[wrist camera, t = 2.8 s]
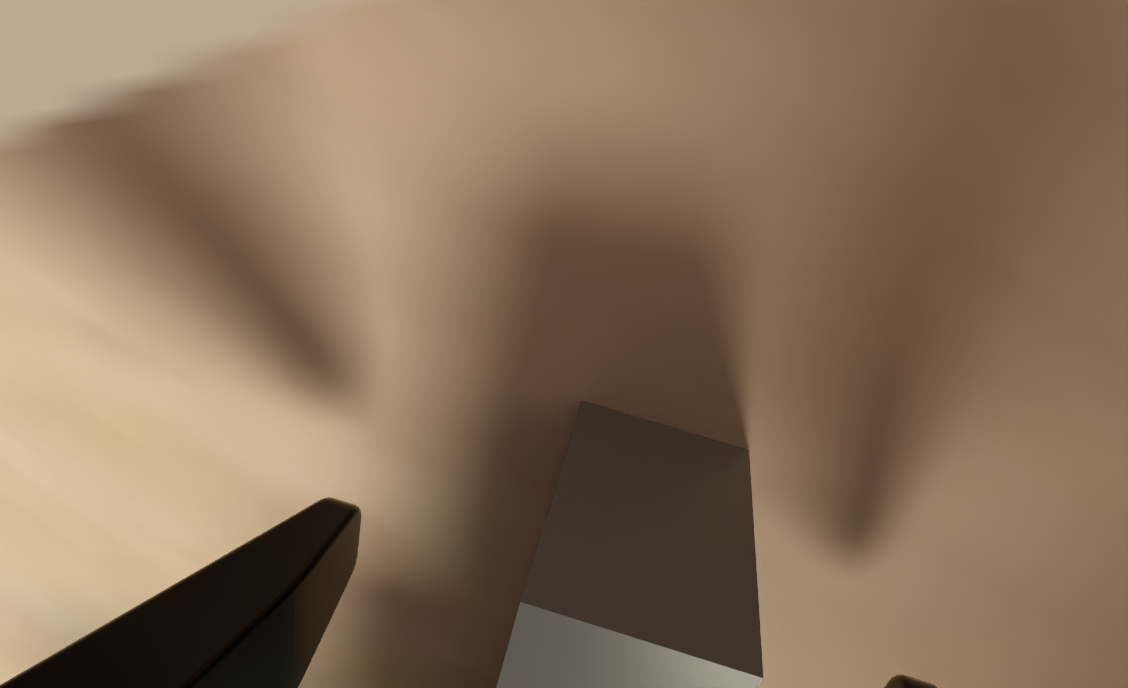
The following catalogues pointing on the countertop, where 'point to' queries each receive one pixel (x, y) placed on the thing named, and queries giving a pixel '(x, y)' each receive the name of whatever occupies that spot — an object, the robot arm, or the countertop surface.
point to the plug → (641, 565)
